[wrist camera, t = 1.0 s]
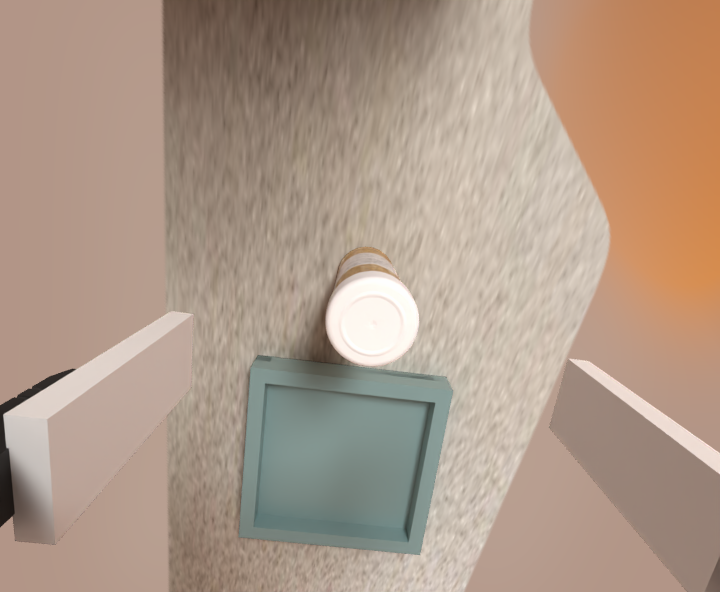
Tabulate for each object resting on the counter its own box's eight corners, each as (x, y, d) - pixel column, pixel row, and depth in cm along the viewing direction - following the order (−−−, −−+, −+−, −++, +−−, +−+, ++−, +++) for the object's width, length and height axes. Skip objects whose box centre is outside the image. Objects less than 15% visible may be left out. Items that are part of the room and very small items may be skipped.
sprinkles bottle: (382, 309, 33) (399, 382, 19) (329, 290, 32) (311, 352, 19) (402, 256, 32) (435, 296, 18) (348, 236, 31) (343, 263, 18)
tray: (258, 355, 33) (250, 367, 31) (446, 377, 34) (452, 390, 32) (246, 515, 37) (238, 537, 35) (415, 532, 38) (419, 555, 35)
